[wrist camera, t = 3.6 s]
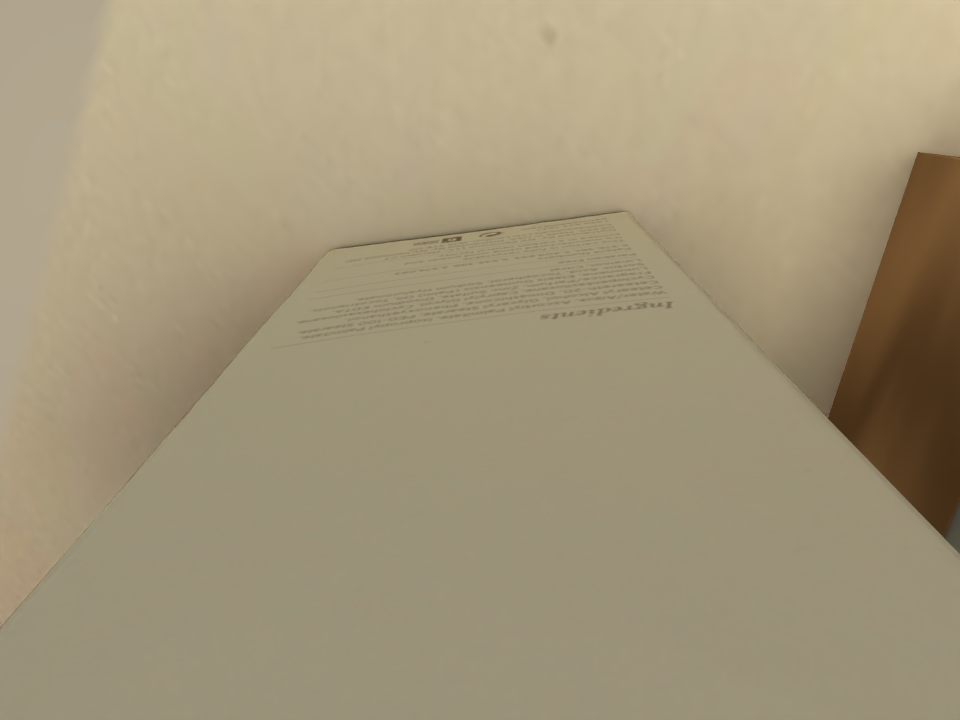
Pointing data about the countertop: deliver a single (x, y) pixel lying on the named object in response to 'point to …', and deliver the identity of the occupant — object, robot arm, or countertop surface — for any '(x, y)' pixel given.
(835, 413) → the tower base block
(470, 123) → the countertop surface
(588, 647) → the small box
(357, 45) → the countertop surface
